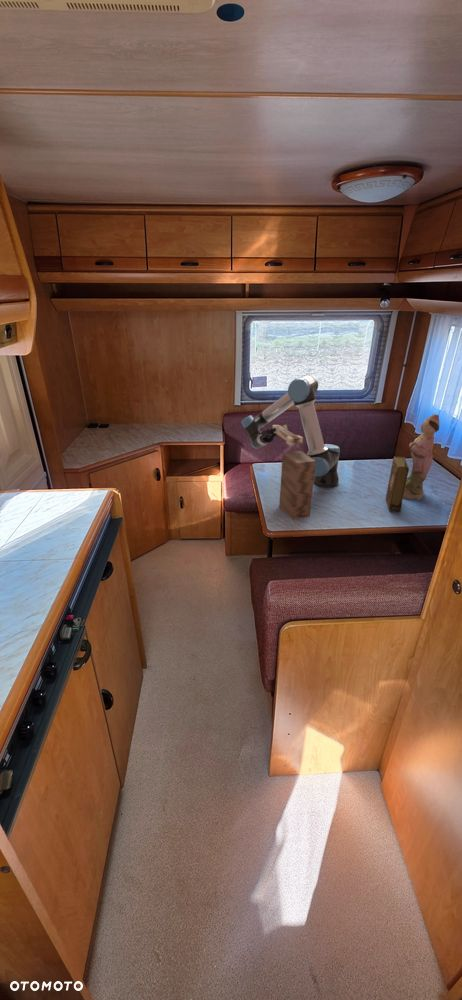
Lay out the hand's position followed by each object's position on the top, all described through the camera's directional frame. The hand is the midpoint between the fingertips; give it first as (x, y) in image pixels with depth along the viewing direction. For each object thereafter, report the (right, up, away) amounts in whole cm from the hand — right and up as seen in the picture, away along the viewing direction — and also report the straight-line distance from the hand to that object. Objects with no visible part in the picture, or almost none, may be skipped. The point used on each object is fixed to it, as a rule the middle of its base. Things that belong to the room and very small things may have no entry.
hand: (282, 427), depth 221 cm
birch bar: (+1, -5, -1) cm, 6 cm away
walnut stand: (+6, -43, +2) cm, 44 cm away
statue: (+75, -34, +23) cm, 85 cm away
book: (+60, -40, +9) cm, 73 cm away
